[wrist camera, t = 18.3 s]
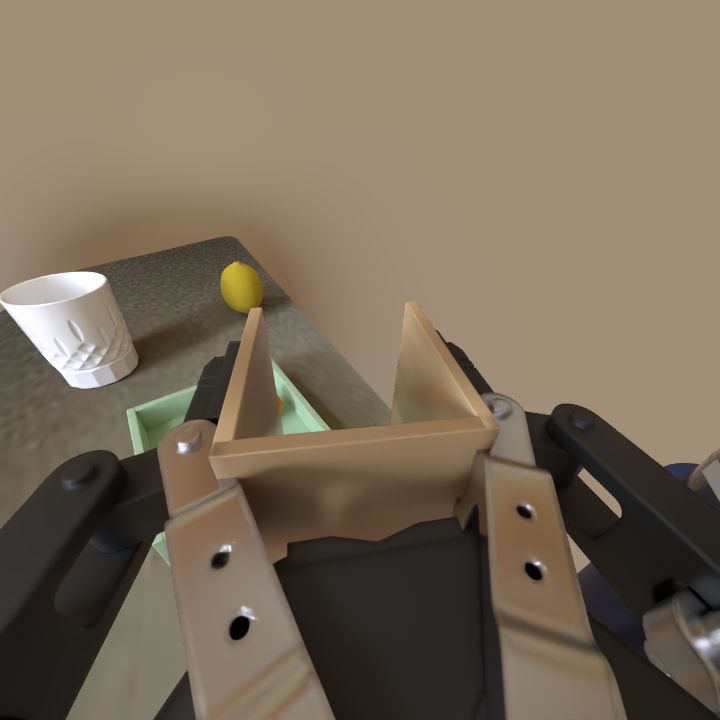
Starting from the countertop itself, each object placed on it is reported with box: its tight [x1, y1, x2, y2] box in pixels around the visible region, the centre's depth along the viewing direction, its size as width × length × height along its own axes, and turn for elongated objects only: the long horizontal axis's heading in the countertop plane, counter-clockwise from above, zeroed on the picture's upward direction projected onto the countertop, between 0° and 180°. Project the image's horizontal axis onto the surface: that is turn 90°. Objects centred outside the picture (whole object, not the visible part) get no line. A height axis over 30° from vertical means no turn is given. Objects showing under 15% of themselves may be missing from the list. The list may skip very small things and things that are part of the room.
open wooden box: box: [208, 302, 501, 564], centre depth 11 cm, size 6×6×9 cm
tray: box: [127, 359, 331, 565], centre depth 26 cm, size 13×13×3 cm
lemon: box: [221, 261, 263, 314], centre depth 44 cm, size 6×6×8 cm
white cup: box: [0, 272, 138, 389], centre depth 32 cm, size 8×8×10 cm
